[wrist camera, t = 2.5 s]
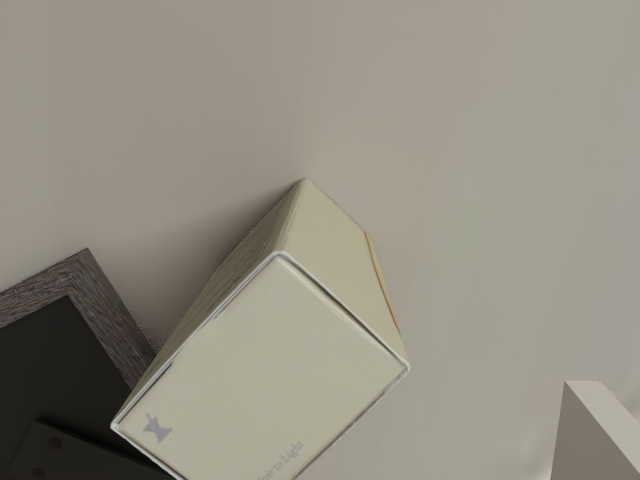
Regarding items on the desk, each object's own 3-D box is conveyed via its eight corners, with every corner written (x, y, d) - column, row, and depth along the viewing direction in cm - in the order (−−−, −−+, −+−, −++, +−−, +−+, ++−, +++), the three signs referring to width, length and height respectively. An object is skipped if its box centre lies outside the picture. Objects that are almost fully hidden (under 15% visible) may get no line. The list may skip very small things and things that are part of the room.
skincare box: (282, 331, 25) (240, 539, 14) (209, 269, 25) (97, 432, 13) (377, 236, 24) (423, 376, 12) (303, 167, 23) (275, 245, 12)
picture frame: (278, 534, 29) (92, 244, 25) (274, 566, 27) (72, 257, 23) (71, 619, 31) (-135, 361, 27) (53, 654, 29) (-171, 382, 25)
